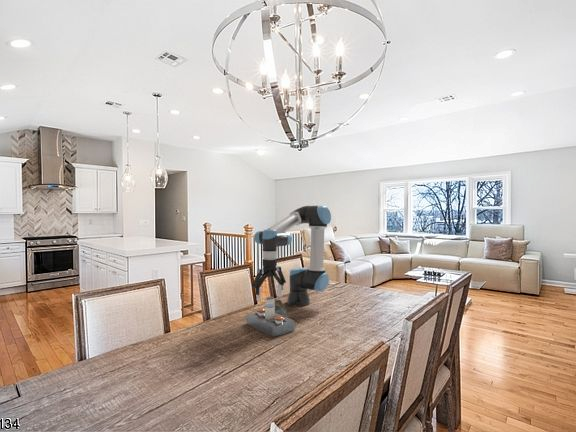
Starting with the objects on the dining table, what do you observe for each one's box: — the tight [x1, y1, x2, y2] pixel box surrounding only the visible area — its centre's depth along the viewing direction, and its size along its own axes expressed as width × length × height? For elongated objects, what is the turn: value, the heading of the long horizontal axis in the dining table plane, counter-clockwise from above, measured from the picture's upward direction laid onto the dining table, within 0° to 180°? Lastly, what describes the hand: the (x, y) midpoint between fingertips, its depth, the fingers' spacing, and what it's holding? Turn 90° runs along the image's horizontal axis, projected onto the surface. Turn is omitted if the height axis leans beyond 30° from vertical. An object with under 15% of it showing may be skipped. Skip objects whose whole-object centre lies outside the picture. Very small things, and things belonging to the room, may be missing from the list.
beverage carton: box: [275, 299, 288, 318], centre depth 189 cm, size 8×19×7 cm, turn 13°
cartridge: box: [264, 296, 276, 321], centre depth 169 cm, size 5×5×16 cm
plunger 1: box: [256, 307, 265, 316], centre depth 176 cm, size 5×5×7 cm
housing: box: [246, 311, 296, 338], centre depth 169 cm, size 14×24×5 cm, turn 39°
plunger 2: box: [274, 315, 284, 324], centre depth 163 cm, size 5×5×7 cm
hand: (269, 298), depth 169 cm, fingers open, 13 cm apart
